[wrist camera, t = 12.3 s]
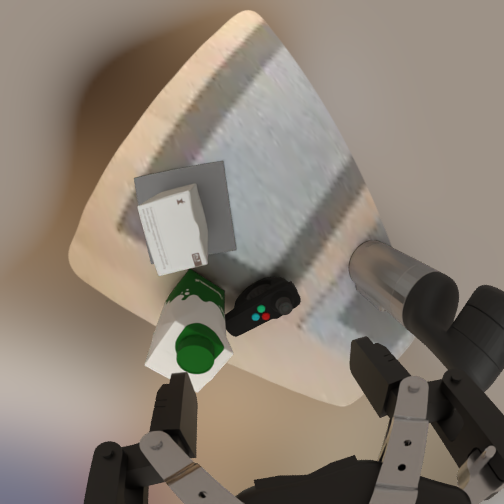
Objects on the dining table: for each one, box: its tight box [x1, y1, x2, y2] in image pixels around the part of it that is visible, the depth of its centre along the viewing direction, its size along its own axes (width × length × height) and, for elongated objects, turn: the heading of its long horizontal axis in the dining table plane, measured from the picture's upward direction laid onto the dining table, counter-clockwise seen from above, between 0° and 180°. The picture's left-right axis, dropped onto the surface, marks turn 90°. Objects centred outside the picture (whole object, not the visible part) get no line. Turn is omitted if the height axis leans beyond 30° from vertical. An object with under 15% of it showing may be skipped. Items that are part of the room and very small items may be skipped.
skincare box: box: [138, 183, 208, 276], centre depth 34 cm, size 8×6×15 cm
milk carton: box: [144, 269, 233, 392], centre depth 37 cm, size 9×9×20 cm
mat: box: [134, 161, 236, 264], centre depth 42 cm, size 14×14×1 cm
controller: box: [225, 277, 301, 337], centre depth 42 cm, size 4×12×10 cm, turn 119°
